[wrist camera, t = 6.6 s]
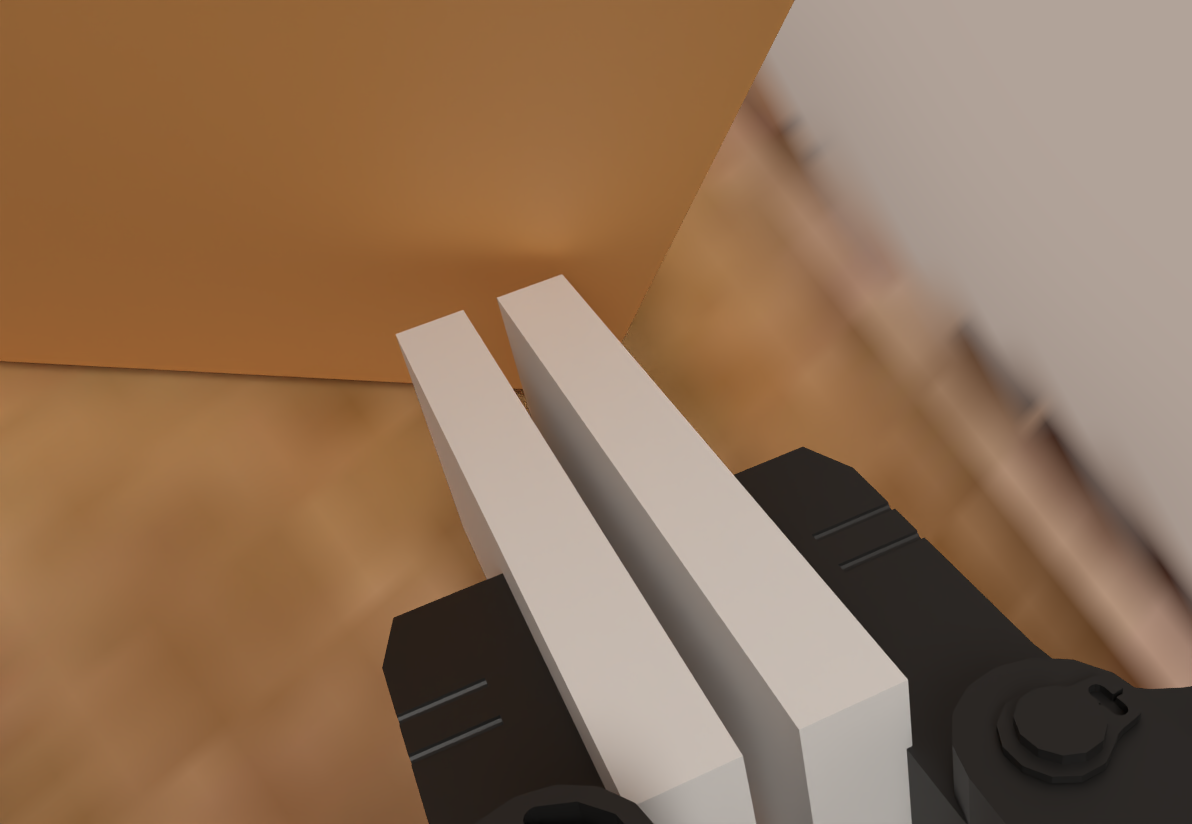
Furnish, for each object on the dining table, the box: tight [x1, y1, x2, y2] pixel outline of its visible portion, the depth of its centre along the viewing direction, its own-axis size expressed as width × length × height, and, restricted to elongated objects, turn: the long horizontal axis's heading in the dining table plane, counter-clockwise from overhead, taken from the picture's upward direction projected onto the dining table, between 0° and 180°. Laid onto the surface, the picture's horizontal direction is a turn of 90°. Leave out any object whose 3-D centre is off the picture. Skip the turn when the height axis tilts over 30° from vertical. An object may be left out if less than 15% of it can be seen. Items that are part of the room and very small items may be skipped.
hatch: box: [0, 0, 794, 389], centre depth 12 cm, size 14×2×11 cm, turn 89°
